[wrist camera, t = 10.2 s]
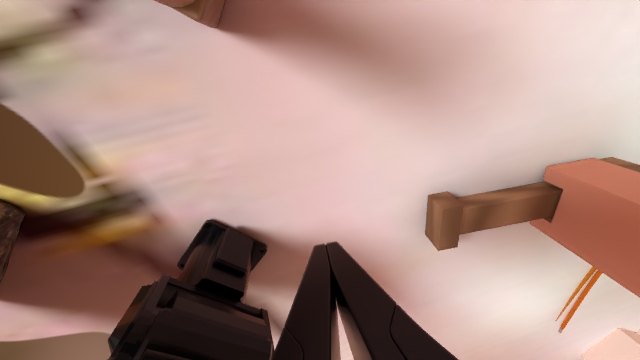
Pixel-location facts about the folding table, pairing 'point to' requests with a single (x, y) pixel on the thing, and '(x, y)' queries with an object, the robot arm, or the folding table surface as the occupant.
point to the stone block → (8, 232)
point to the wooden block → (198, 10)
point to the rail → (493, 209)
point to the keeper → (598, 217)
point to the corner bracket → (616, 347)
